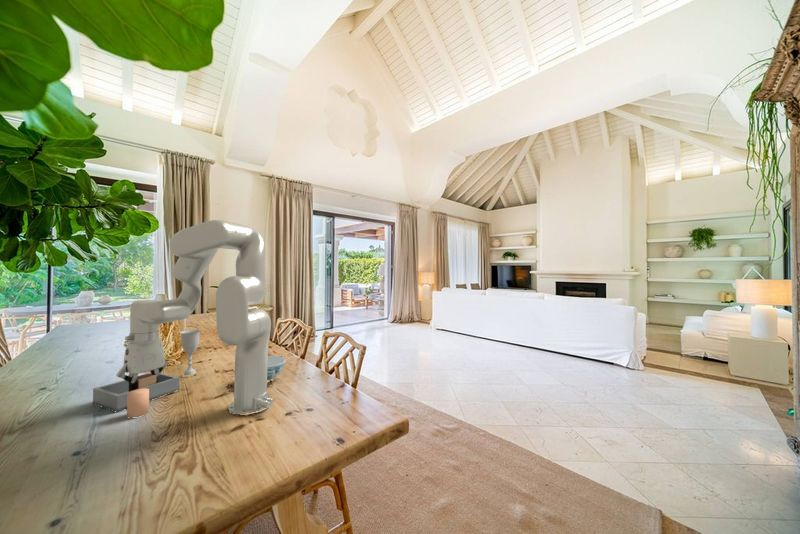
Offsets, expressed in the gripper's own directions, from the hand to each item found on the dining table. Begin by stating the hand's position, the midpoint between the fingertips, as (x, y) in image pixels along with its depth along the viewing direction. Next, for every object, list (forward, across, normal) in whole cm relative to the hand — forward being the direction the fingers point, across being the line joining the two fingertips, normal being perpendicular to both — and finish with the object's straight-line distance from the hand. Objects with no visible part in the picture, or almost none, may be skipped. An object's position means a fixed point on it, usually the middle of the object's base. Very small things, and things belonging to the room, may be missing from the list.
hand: (143, 390), depth 104 cm
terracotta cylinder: (+3, -7, -11) cm, 13 cm away
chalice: (+3, +21, +9) cm, 23 cm away
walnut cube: (0, 0, 0) cm, 0 cm away
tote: (+3, 0, +3) cm, 4 cm away
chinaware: (+3, +30, -23) cm, 38 cm away
